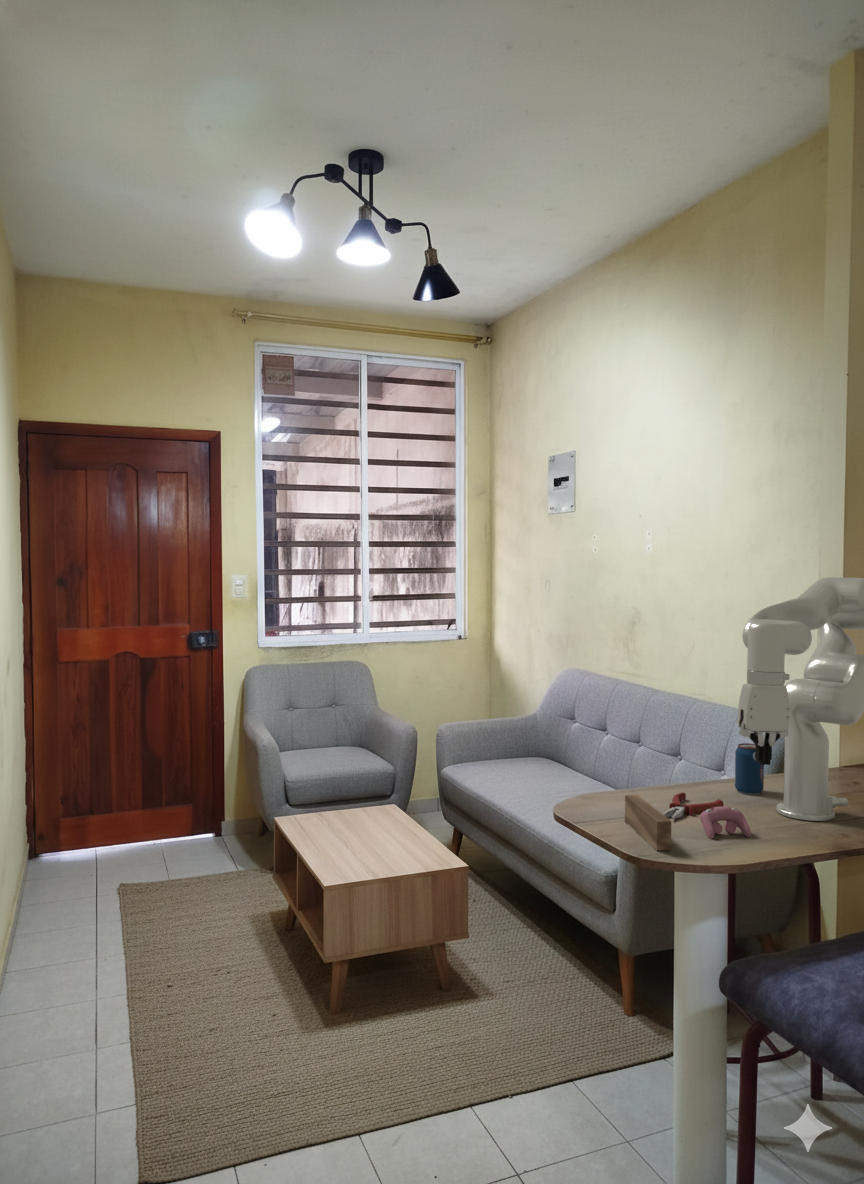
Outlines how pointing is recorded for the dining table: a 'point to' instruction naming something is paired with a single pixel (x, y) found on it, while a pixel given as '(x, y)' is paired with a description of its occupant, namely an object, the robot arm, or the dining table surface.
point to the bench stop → (648, 822)
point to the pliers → (688, 807)
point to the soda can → (748, 770)
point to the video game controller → (724, 814)
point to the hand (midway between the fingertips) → (763, 763)
